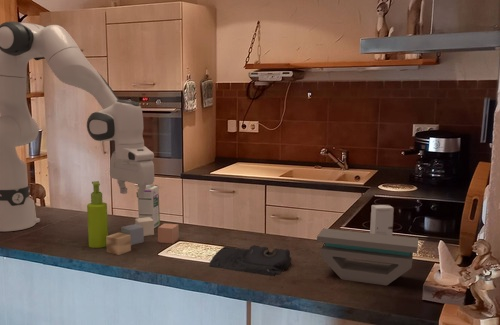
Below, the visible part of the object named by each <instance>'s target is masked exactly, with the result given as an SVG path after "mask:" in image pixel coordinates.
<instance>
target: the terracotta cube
mask: <svg viewBox="0 0 500 325" xmlns="http://www.w3.org/2000/svg"><path fill="white" fill-rule="evenodd" d="M179 227H180V226H179V224H178V223H175V224H174V223H165V222H164V223H162V224H161V225H158V226H157V243H162V244H163V243H164V244H175V242H177V241H178V240H180V237H179V234H180V233H179Z"/></svg>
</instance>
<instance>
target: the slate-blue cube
mask: <svg viewBox="0 0 500 325" xmlns="http://www.w3.org/2000/svg"><path fill="white" fill-rule="evenodd" d="M120 233H124V234H128V235H131V246H133V245H137V244H141V243H144V238H145V236H143V227H141V226H138V225H136V224H135V223H134V224H130V225H125V226H121V227H120Z"/></svg>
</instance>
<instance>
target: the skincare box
mask: <svg viewBox="0 0 500 325" xmlns="http://www.w3.org/2000/svg"><path fill="white" fill-rule="evenodd" d="M394 209H395V207H393V206H391V205H390V204H372V205H371V211H370V228H369V233H372V234H382V235H392V236H393V227H394V213H395V212H394V211H395V210H394Z"/></svg>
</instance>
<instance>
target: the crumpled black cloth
mask: <svg viewBox="0 0 500 325" xmlns="http://www.w3.org/2000/svg"><path fill="white" fill-rule="evenodd" d="M290 252H291V251H290V250H289V249H287V248H286V249H283V248H274V249H273V250H272V251H270V250H269V247H267V246H263V247H262V246H259V245H250V247H249V248H247V249H246V248H241V247H240V248H239V247H235V246H226V245H225V246H223V247H222V248H221V249H219V250H218V251H217V252H216V253H215V254H214V255H213V257H212V258H211V260H210V261H209V265H208V266H209V267H211V268H216V269H223V270H230V271H235V272H242V273H249V274H255V275H264V276H271V277H274V276H275V275H278V276H279V275H282V273H283V271H284V270H287V269H288V268H289V266H290V265H291V260H292V257H291V253H290Z"/></svg>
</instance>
